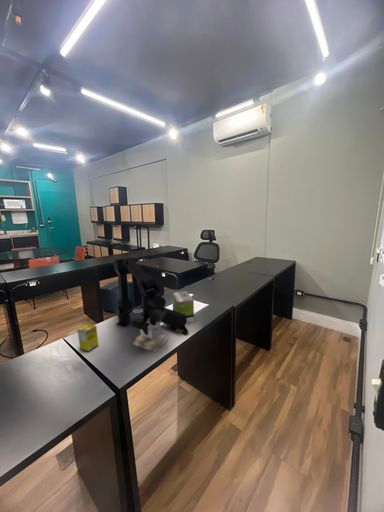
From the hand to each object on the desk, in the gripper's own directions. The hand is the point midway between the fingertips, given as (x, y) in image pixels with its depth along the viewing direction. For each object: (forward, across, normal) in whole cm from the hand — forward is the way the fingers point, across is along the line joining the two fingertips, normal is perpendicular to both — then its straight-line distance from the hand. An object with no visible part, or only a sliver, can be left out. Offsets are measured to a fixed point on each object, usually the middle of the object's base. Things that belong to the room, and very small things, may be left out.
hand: (149, 332), depth 107 cm
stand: (+5, 0, 0) cm, 5 cm away
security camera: (+6, +16, -4) cm, 17 cm away
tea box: (+6, +29, -2) cm, 30 cm away
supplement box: (+6, -17, +24) cm, 30 cm away
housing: (+1, 0, 0) cm, 1 cm away
